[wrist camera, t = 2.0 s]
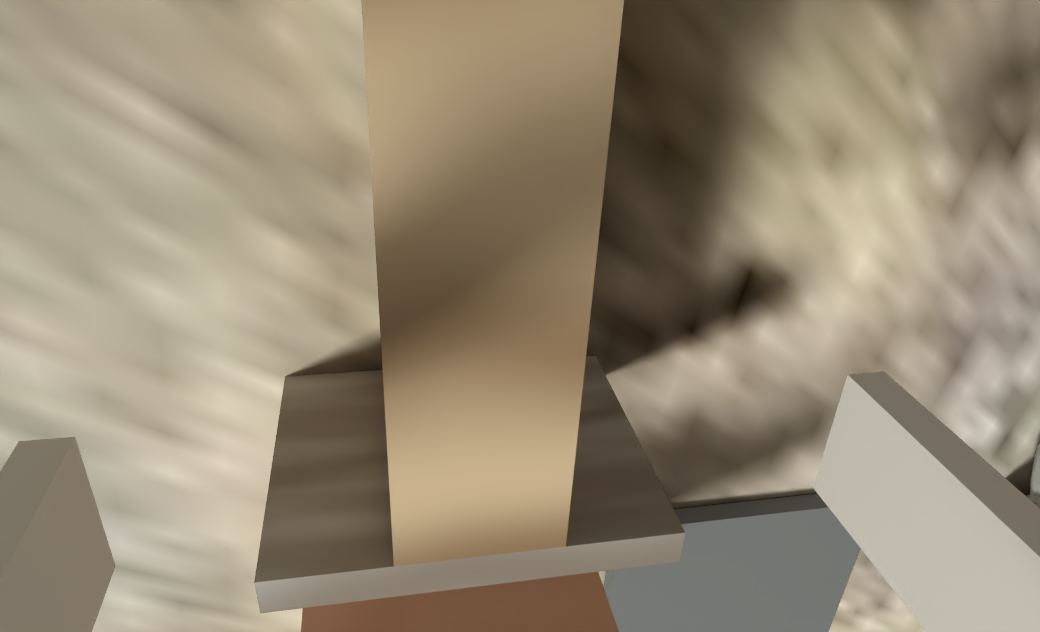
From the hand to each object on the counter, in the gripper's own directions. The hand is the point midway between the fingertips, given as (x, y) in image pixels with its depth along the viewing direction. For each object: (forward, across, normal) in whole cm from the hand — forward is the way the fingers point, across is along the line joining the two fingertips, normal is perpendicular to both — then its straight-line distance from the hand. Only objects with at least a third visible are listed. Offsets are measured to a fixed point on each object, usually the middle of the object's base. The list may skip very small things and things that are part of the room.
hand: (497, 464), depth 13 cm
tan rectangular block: (+10, 0, +2) cm, 10 cm away
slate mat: (+10, +12, -19) cm, 25 cm away
